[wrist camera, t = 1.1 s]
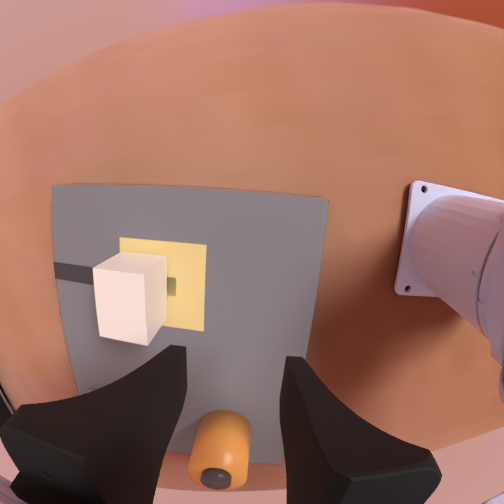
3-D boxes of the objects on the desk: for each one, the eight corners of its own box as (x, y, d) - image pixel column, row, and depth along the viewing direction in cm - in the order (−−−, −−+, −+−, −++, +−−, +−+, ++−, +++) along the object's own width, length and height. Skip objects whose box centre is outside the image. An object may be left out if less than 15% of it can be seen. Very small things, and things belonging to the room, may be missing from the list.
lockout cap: (253, 412, 21) (248, 469, 16) (249, 445, 22) (244, 499, 17) (199, 406, 21) (183, 461, 16) (200, 439, 22) (187, 491, 17)
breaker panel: (321, 197, 20) (333, 201, 16) (281, 445, 25) (281, 474, 21) (71, 183, 20) (41, 186, 17) (99, 414, 26) (84, 437, 22)
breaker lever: (166, 256, 18) (144, 274, 15) (167, 317, 19) (147, 345, 16) (121, 251, 18) (92, 267, 15) (124, 310, 19) (99, 336, 16)
